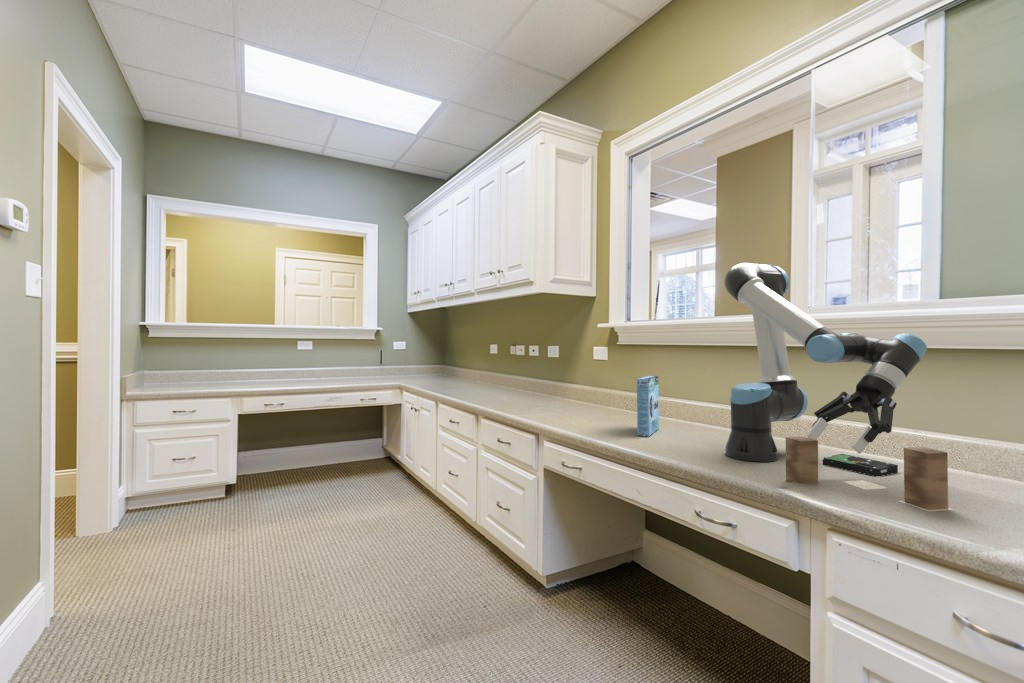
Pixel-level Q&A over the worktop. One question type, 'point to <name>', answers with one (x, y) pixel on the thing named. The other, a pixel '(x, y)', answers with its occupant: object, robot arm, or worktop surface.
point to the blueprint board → (869, 485)
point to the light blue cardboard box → (647, 405)
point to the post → (801, 460)
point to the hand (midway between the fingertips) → (831, 444)
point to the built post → (926, 478)
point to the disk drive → (860, 465)
